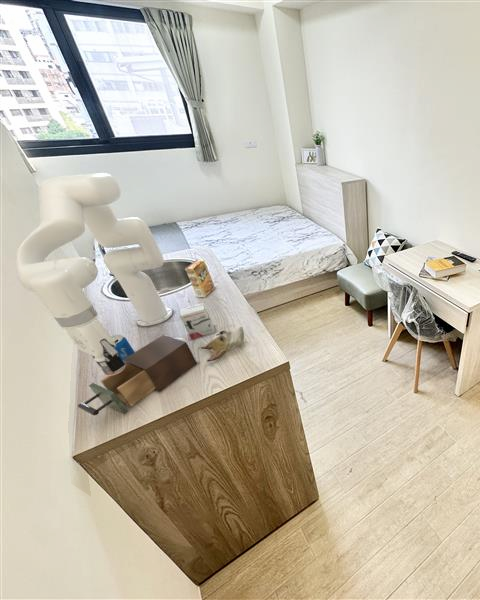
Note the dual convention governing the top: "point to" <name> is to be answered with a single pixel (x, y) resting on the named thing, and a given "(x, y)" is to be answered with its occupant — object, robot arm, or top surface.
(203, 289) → the candy box
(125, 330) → the top surface
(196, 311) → the ink box
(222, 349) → the ceramic sculpture
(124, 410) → the drawer
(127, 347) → the beverage can
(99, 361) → the pill bottle
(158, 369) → the cabinet
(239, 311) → the top surface
